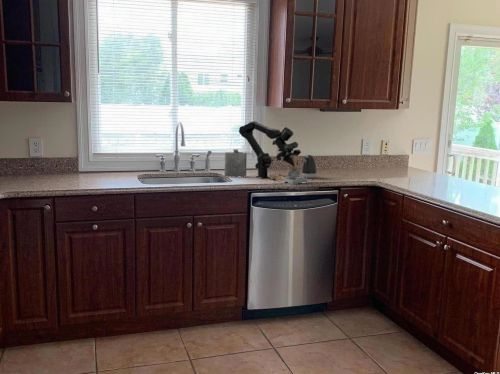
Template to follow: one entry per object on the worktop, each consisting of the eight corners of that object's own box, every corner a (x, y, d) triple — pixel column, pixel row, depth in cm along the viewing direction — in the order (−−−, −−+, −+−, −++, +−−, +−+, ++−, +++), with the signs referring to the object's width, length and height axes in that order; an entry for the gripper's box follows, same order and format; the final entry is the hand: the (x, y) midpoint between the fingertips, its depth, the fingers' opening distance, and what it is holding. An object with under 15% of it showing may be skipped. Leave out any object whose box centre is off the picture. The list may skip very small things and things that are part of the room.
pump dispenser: (297, 177, 331) (298, 154, 328) (307, 176, 338) (308, 153, 336) (309, 179, 324) (310, 156, 321) (319, 178, 331) (320, 155, 328)
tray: (281, 181, 314) (281, 177, 314) (295, 180, 320) (295, 176, 320) (292, 184, 305) (292, 180, 305) (306, 183, 311) (306, 178, 311)
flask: (225, 175, 335) (225, 148, 331) (246, 176, 334) (246, 149, 330) (224, 176, 331) (224, 149, 328) (246, 177, 330) (246, 149, 327)
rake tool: (288, 176, 312) (288, 155, 309) (293, 175, 316) (293, 154, 313) (294, 177, 309) (295, 156, 306) (299, 176, 312) (300, 155, 310)
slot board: (270, 178, 325) (270, 174, 324) (282, 177, 330) (282, 173, 330) (281, 181, 315) (281, 177, 314) (293, 180, 320) (294, 176, 320)
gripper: (280, 138, 303) (294, 158, 298) (299, 136, 317) (312, 155, 312) (270, 150, 310) (283, 169, 305) (288, 148, 324) (302, 167, 319)
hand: (295, 165), depth 310 cm, fingers closed on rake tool, 3 cm apart
